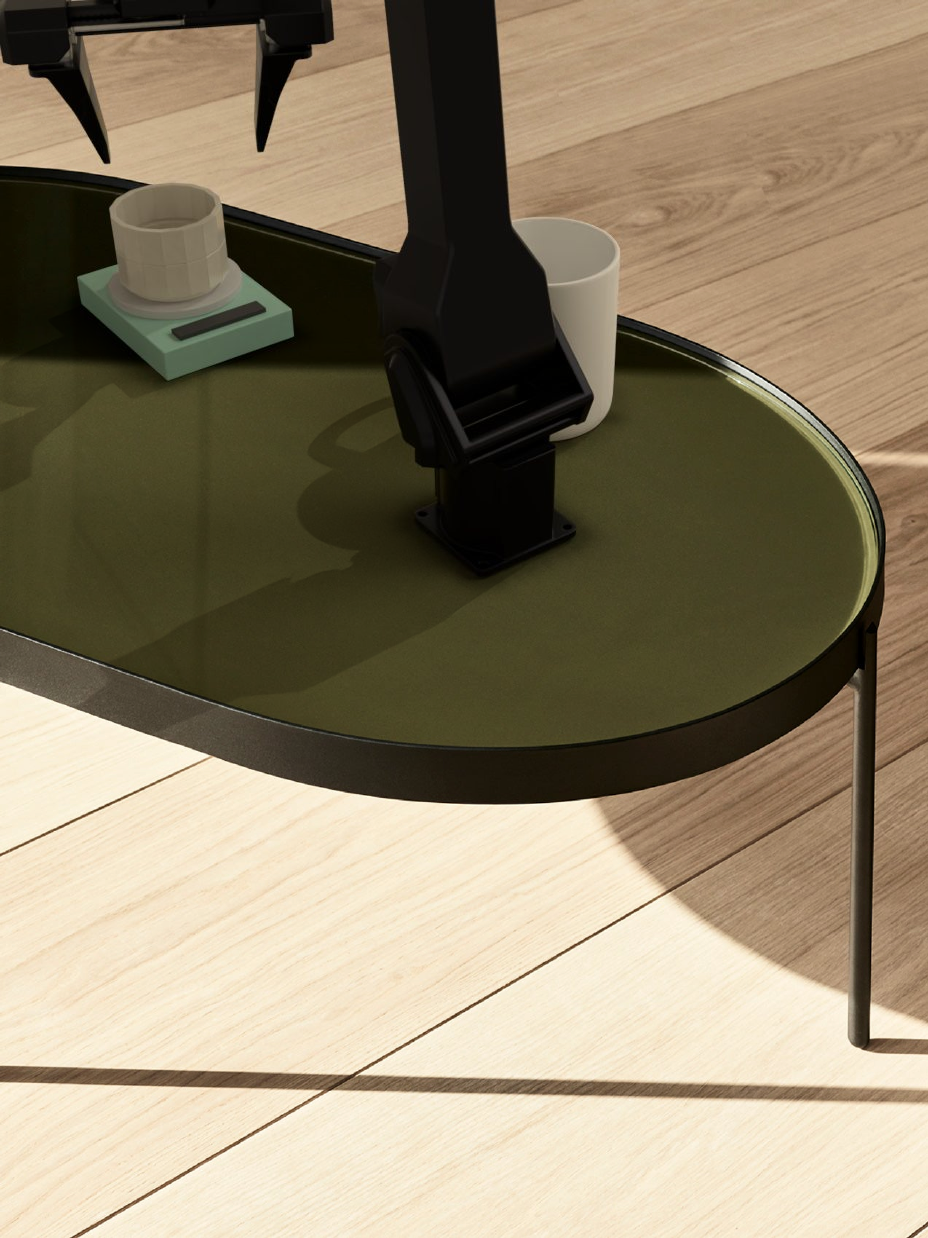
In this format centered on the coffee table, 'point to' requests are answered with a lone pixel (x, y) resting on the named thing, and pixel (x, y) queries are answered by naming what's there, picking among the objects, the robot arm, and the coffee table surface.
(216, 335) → the scale
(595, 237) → the cup
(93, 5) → the robot arm
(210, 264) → the bowl
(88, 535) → the coffee table surface
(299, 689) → the coffee table surface
